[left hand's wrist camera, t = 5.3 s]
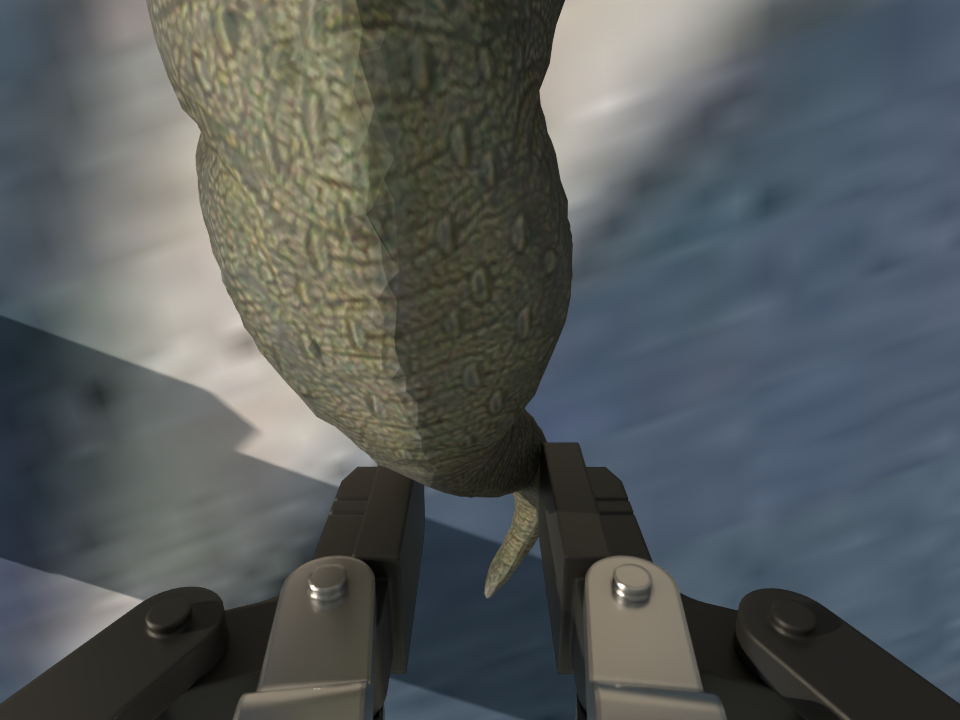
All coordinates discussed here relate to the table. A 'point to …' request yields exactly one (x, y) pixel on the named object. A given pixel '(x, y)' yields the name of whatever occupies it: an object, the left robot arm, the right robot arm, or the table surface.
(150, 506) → the table surface
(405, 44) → the toy dinosaur
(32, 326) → the table surface
